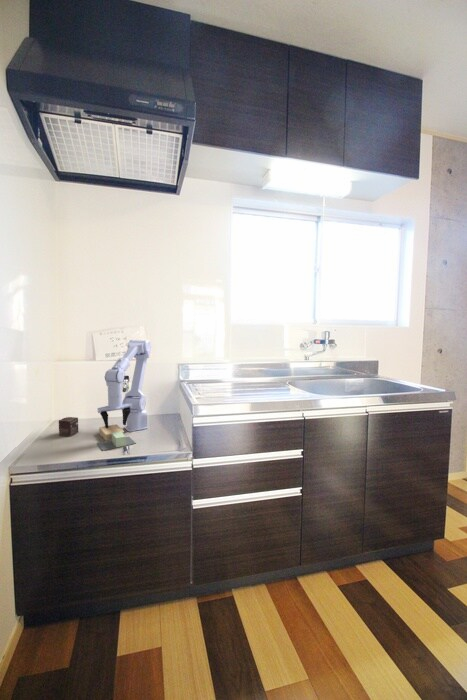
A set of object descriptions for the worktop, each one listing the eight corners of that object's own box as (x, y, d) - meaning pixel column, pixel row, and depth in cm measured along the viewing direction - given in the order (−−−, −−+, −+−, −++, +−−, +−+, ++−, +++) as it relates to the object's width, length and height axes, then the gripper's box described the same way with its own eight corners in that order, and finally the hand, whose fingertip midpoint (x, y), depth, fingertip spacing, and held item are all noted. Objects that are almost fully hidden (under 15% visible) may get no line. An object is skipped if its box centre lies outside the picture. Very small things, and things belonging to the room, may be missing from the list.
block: (120, 430, 148) (125, 436, 141) (121, 439, 149) (125, 445, 142) (111, 432, 146) (116, 438, 139) (111, 441, 146) (116, 447, 140)
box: (70, 436, 152) (69, 421, 152) (58, 435, 153) (58, 420, 153) (78, 432, 158) (78, 417, 157) (67, 431, 159) (67, 416, 159)
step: (116, 430, 162) (116, 424, 161) (124, 437, 152) (124, 431, 151) (99, 433, 157) (99, 427, 157) (106, 441, 147) (105, 434, 147)
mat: (129, 437, 152) (129, 436, 152) (136, 443, 145) (136, 443, 145) (96, 443, 144) (96, 442, 144) (102, 450, 137) (102, 450, 137)
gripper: (99, 400, 139) (100, 431, 141) (134, 395, 148) (134, 425, 149) (95, 396, 145) (96, 427, 146) (129, 392, 153) (129, 421, 155)
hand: (115, 426), depth 148 cm, fingers open, 7 cm apart
